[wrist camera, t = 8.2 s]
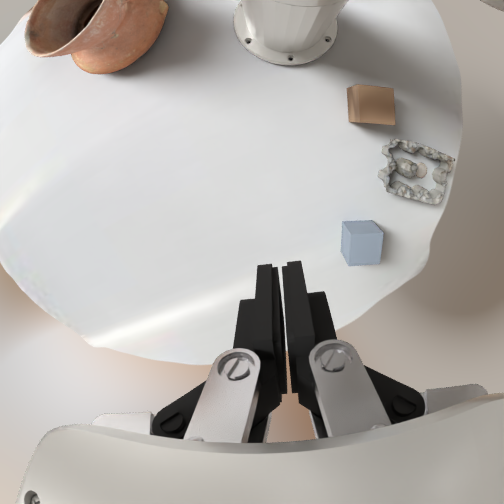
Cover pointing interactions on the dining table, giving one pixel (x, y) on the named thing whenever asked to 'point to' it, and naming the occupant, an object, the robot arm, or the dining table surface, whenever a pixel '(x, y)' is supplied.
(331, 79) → the dining table surface
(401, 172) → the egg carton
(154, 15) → the ceramic jug
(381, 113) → the walnut block
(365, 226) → the slate-blue block
